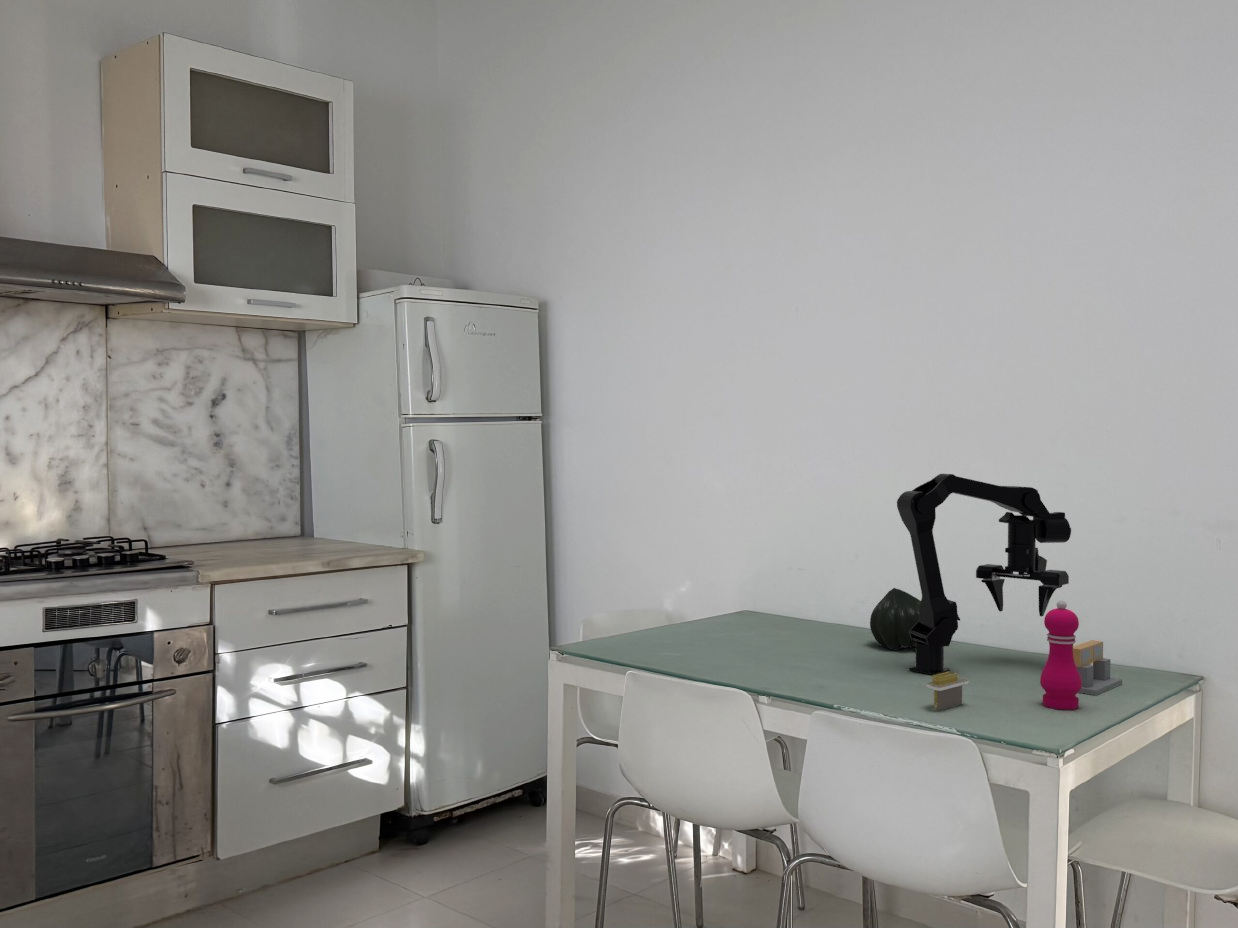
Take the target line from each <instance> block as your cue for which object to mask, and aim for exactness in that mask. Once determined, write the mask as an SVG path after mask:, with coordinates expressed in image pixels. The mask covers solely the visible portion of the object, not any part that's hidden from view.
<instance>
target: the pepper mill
mask: <svg viewBox="0 0 1238 928" xmlns="http://www.w3.org/2000/svg"><path fill="white" fill-rule="evenodd" d="M1067 605H1068V604H1067V603H1066V601H1065V600H1063V599H1062V600H1057V603H1056V608H1052V609H1050V610H1049V611H1048V612H1046V614H1045V615H1044V620H1043V622H1044V623H1043V625H1044V627H1045V628H1046V629H1047V631H1048V633H1047V634H1046V636H1047V639H1046V641H1047V642H1048V645H1049V648H1048V649H1049V651H1048V658H1047V660H1046V663H1045V664H1044V667H1043V669H1042V670H1041V675H1040V678H1039V685H1040V686H1041V688H1042V689H1043V690H1044V691H1045V693H1043V694H1042V705H1043V706H1044V707H1046V708H1049V709H1053V708H1054V709H1055V710H1061V709H1062V710H1063V711H1072V709H1073V710H1077V709H1079V707H1080V706H1079V703H1080V701H1079V699H1080V698H1079V697H1078V696H1077V694H1079V693H1078V692H1079V691H1080V690H1081V687H1082V683H1081V677H1080V674H1079V672H1078V669H1077V667H1076V665H1075V662H1074V658H1073V646H1074V644H1075V643H1076V642H1077V640H1076V635H1075V633H1076V631H1078V629H1079V627H1080V626H1079V625H1080V622H1079V618H1078V616H1077V614H1076V613H1075V612H1074V611H1072V610H1070V609H1067Z"/></svg>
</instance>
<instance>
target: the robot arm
mask: <svg viewBox="0 0 1238 928" xmlns="http://www.w3.org/2000/svg"><path fill="white" fill-rule="evenodd" d="M952 494H955V495H960V496H963V497H964V496H965V497H969V498H974V499H977V500H982V501H986V502H987V501H988V502H990V503H992V504H995V505H997V506H999V507H1001V508H1002V509H1005V510H1007V511H1006V512H1005V513H1004V515H1002V516H1001V517H1000V518H999V519H998V522H999V523H1002V524H1003V523H1004V524H1007V547H1005V549H1004V552H1005V553H1007V565H1006V566H1003V565H1001V564H990V563H987V564H983V565H982V564H981V565H977V566H978V567H976V569H975V578H976V579H981V581H980V582H981V583H983V584H984V583H985V586H986V587H987V590H989V593H990V595H991V596H992V599H993V601H994V603H995V605H996V607H997V610H998V611H999V612H1000V613H1001V612H1003V610H1004V591H1003V588H1004V587H1003V586H1004V584H1005V578H1008V579H1018V580H1019V579H1020V580H1028V581H1029V580H1031V581H1040V582H1041V583H1042V585H1039V586H1038V613H1039V617H1043V616H1044V617H1045V613H1046V610H1047V609H1048V605H1049V603H1050V600H1051V598H1052V596H1053V594H1054V593H1055V591H1056V590H1057V589H1061V588H1063V586H1065V585H1069V584H1070V583H1069V581H1070V580H1069V579H1070V577H1069V573H1068V572H1067V571H1066V570H1058V569H1047V563H1048V560H1047V559H1046V558H1044V557H1043V556H1042V555H1040V554H1039V548H1038V547H1036V541H1037V543H1040V544H1049V543H1052V544H1055V543H1062V544H1063V543H1066V542H1068V541H1069V540H1070V538H1071V535H1072V527H1071V525H1070V523H1069V520H1068V519H1067V518H1066V513H1065V512H1062V511H1061V512H1060V511H1054V512H1050V511H1049V510H1048V509H1047V507H1046V506H1045V504H1044V502H1043V501H1042V499H1041V495H1040V493H1039V490H1038V489H1036V488H1034V487H1031V486H1020V485H1019V486H1018V485H999V484H998V485H997V484H992V483H988V482H983V481H979V480H974V479H970V478H965V477H961V476H957V475H955V474H953V473H940V474H938V475H936V476H934V477H933V478H932V479H931V480H928V481H926V482H924V483H922V484H920V485H919V486H916V487H915V488H913V489H912V490H908V491H904V492H902V494H900V495H899V497H898V499H897V500H896V507H897V510H898V511H897V512H898V513H899V516H900V518H901V521H902V523H903V524H904V526H905V527H906V529H907V531H908V532H909V533H908V534H909V535H910V540H911V545H912V550H913V551H912V552H913V554H914V555H913V556H914V559H915V565H916V571H917V578H918V581H919V586H920V593H921V600H920V601H921V603H920V607H919V620H918V621H917V623H916V624H915V625H914V626H913V627H912V628H911V629H910V630H909V634H910V637H911V639H912V640H915V641H917V642H916V650H915V666H913V667H909V668H908V669H909V672H916V673H920V674H926V675H932V676H933V675H937V674H941V673H946V672H950V670H951V668H948V667H944V665H945V664H944V663H945V662H944V661H945V659H944V658H945V657H944V656H945V654H944V653H945V649H944V648H945V647H950V644H951V642H952V639H953V635H954V634H956V631H958V629H959V622H958V621H961V618H960V617H959V613H958V605H957V601H955V600H951V599H948V598H947V596H946V594H945V591H944V585H943V579H942V574H941V569H940V564H939V559H938V554H937V549H936V543H935V537H934V533H933V531H934V526H935V522H936V517H937V516H936V509H937V508H938V507H939V506H940V505H942V504H943V503H944V502H945V501H946V500H947V499H948V497H949V496H950V495H952ZM1013 512H1015V513H1018V514H1020V515H1018V514H1016V515H1015V514H1014V513H1013ZM1029 517H1032V519H1030V518H1029Z"/></svg>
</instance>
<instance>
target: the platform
mask: <svg viewBox="0 0 1238 928" xmlns="http://www.w3.org/2000/svg"><path fill="white" fill-rule="evenodd" d="M958 673H959V672H955V673H953V674H952V673H951V672H950V671H948V672H945V673H941V674H937V675H932V681H928V682H926V683H925V684H926V685H925V687H926V688H929V689H931V690H933V708H935V709H936V710H937V712H939V711H943V710H946V709H950V708H954V707H958V706H962V705H963V685H968V684H969V683H970V680H969V679H966V678H958Z"/></svg>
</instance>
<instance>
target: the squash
mask: <svg viewBox="0 0 1238 928" xmlns="http://www.w3.org/2000/svg"><path fill="white" fill-rule="evenodd" d="M920 603H921V600H920V599H918V598H917V597H914V596H913V595H911V594H910V593H908V592H907V591H904V590H902V589H900V588H896V587H893V588H892V589H890V590H888V591H887V593H886V594H885V595H884V596H883V598H882V599H880V601H879V602H878V603H877V604H876V606H875V607H874V608H873V610H872V612H871V615H870V620H869V627H870V628H869V629H870V631H871V634H872V636H873V638H874V639H875V641H876V642H877V644H878V645H880V646H881V647H883V648H885V649H889V650H895V651H898V650H901V649H902V648H904V649H907V648H908V647H910V648H911V649H912V650H915V649H916V642H917V641H915V640H912V639H911V637H910V634H909V630H910V629H911V628H912V627H913V626H914V625H915V624H916V623H917V621H918V620H919V607H920Z"/></svg>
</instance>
